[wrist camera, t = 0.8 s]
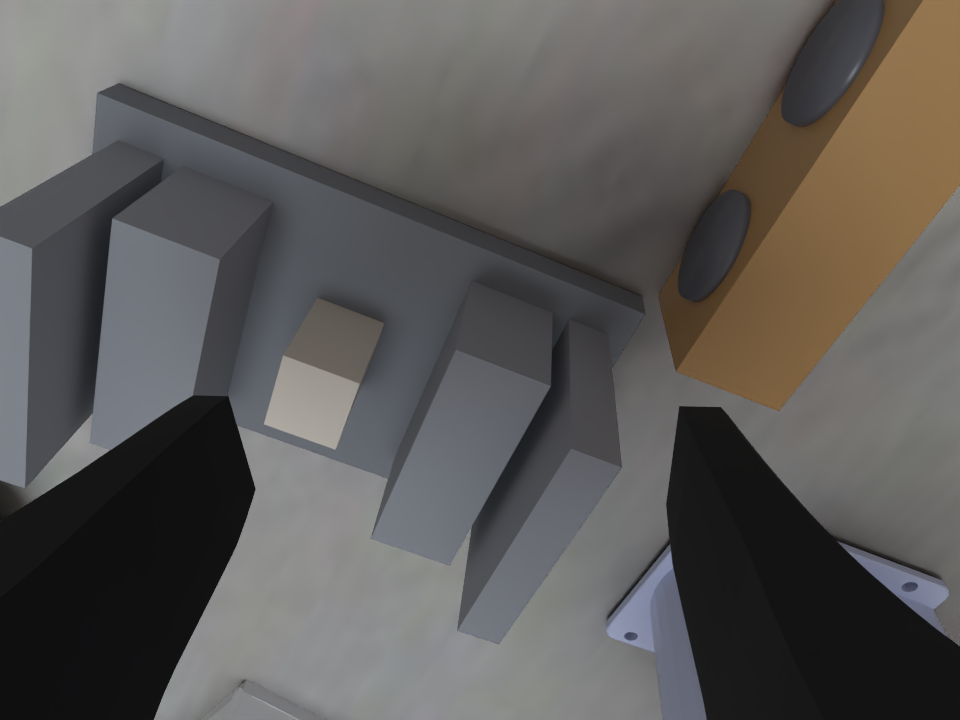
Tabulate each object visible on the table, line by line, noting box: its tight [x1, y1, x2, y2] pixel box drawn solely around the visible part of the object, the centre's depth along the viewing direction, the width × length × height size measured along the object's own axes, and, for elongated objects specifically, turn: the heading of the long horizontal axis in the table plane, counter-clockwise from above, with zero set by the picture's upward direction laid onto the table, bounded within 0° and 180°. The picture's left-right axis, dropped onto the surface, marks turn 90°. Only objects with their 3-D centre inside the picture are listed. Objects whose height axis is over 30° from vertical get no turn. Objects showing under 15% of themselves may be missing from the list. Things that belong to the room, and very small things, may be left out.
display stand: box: [0, 84, 645, 644], centre depth 19 cm, size 15×9×6 cm, turn 68°
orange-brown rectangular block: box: [658, 0, 960, 411], centre depth 16 cm, size 10×3×4 cm, turn 159°
